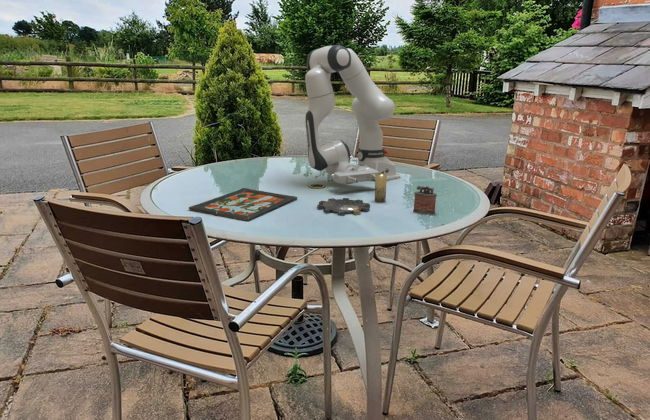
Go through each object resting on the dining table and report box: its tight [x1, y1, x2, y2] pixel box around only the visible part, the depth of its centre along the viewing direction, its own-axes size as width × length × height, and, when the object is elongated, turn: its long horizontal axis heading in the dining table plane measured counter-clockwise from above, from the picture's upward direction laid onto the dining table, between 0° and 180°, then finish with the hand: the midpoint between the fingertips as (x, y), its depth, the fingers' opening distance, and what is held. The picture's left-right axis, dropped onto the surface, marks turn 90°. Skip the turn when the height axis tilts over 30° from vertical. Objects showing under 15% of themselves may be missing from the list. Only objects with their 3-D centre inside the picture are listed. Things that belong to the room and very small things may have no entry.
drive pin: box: [374, 173, 388, 204], centre depth 192 cm, size 4×4×11 cm
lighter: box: [412, 185, 437, 215], centre depth 178 cm, size 8×3×10 cm, turn 71°
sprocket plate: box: [316, 197, 371, 217], centre depth 184 cm, size 20×20×1 cm
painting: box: [188, 187, 298, 222], centre depth 186 cm, size 28×35×2 cm
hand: (366, 179), depth 201 cm, fingers open, 8 cm apart
